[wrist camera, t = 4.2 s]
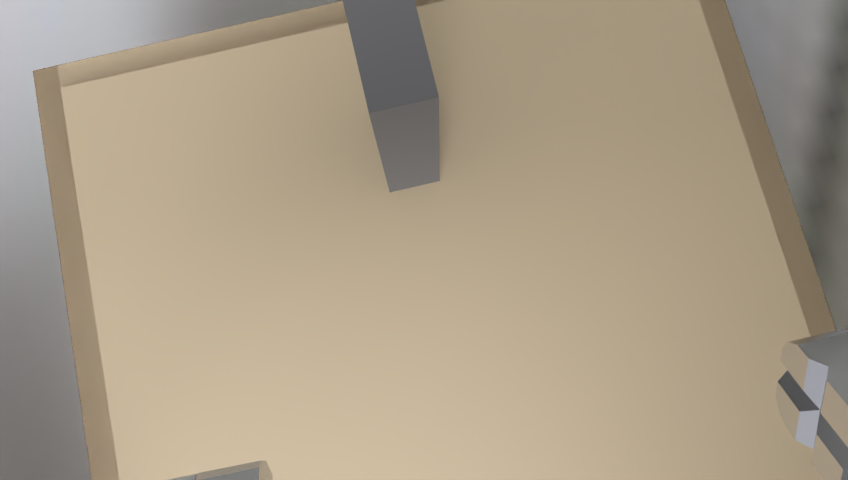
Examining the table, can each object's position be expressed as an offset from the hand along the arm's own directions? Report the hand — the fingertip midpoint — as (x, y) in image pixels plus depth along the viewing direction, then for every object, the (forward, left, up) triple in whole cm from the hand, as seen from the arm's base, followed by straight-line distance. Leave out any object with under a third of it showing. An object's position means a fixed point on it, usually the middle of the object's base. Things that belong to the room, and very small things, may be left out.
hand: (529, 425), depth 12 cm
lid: (+3, -2, -13) cm, 14 cm away
